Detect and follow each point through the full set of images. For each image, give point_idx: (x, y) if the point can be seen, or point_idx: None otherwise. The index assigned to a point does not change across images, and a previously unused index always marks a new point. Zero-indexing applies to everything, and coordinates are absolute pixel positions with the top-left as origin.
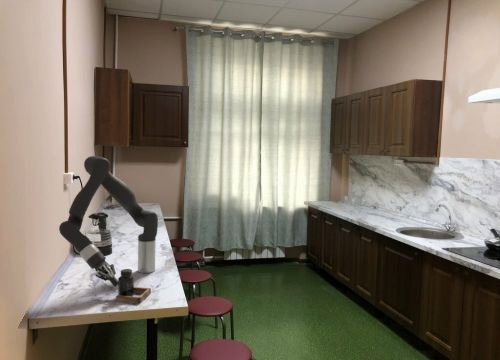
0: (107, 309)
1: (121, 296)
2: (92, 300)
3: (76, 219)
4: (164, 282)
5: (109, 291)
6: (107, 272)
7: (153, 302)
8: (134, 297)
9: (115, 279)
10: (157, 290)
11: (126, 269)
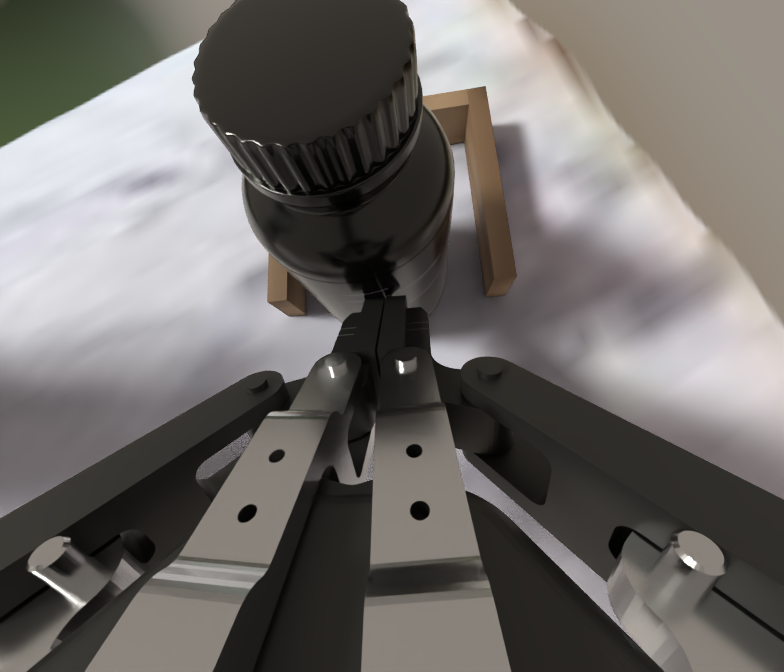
0: (673, 270)
1: (508, 228)
2: None
3: None
4: (80, 175)
5: None
6: (451, 443)
7: (429, 68)
8: (490, 125)
9: (384, 324)
10: None
11: (234, 81)
